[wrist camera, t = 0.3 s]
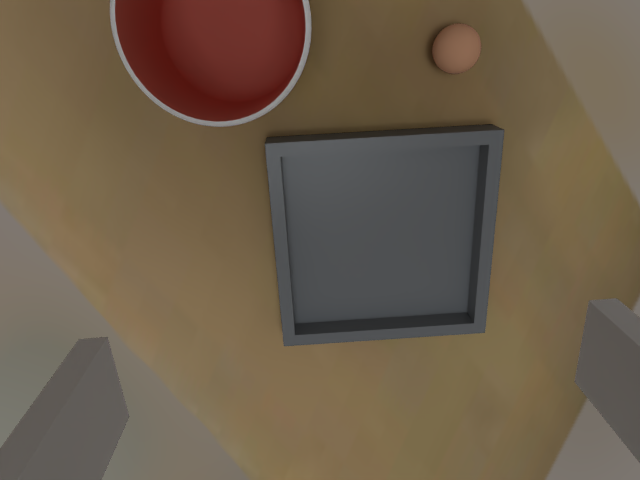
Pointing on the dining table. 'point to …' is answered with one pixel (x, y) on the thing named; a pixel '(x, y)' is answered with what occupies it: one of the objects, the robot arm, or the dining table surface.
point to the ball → (456, 48)
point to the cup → (213, 54)
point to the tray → (384, 231)
